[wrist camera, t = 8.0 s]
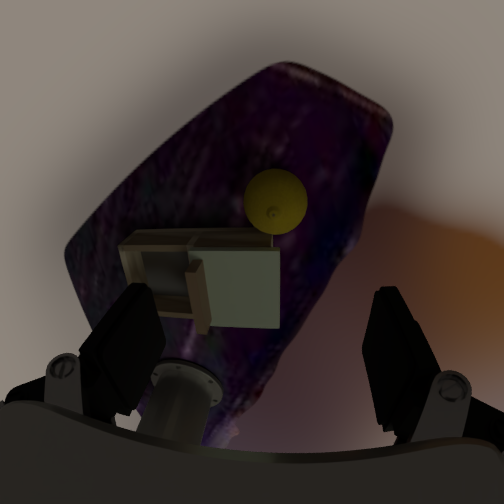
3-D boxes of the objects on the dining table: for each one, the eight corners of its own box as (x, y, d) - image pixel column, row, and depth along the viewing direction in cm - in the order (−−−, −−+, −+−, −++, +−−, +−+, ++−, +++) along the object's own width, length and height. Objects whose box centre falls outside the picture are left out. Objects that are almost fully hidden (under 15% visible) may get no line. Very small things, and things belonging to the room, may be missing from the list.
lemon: (243, 169, 27) (228, 187, 20) (298, 158, 26) (303, 171, 19) (256, 220, 30) (247, 254, 22) (308, 210, 29) (316, 242, 21)
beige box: (273, 298, 34) (271, 322, 30) (151, 293, 36) (137, 313, 31) (272, 227, 30) (270, 244, 26) (136, 229, 32) (117, 245, 28)
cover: (279, 323, 29) (278, 344, 26) (203, 320, 30) (195, 339, 27) (279, 247, 25) (279, 264, 23) (190, 247, 26) (179, 263, 24)
